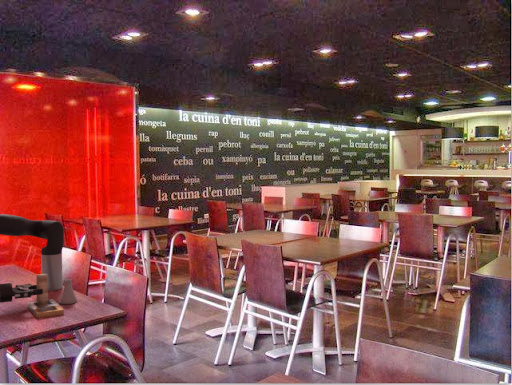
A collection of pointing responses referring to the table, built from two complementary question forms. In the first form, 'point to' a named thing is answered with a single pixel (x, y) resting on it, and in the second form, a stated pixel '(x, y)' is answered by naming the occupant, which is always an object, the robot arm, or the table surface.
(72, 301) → the flask
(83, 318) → the table surface
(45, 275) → the wooden peg
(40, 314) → the flat wooden frame
